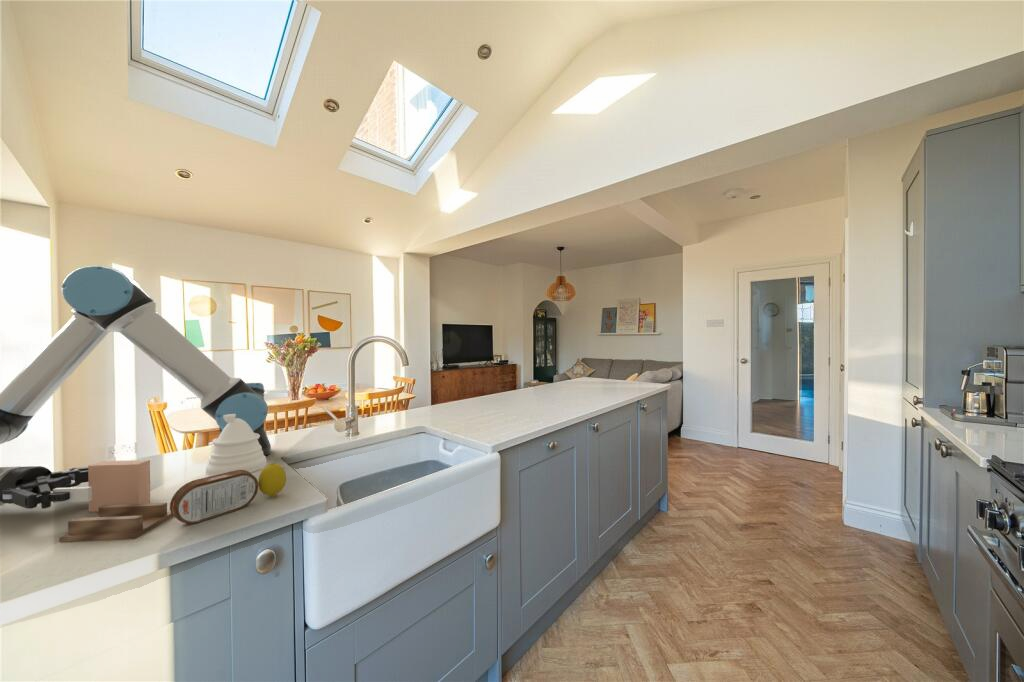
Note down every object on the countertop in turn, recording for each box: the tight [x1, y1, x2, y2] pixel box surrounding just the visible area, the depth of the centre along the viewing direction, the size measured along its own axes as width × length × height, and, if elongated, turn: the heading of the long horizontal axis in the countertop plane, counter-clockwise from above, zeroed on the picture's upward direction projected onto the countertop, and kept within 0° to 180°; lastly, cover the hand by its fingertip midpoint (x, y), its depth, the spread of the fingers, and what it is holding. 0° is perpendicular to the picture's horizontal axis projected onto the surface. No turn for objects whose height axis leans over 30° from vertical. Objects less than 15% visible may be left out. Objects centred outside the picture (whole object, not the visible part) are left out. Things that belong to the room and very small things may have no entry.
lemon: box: [258, 462, 287, 498], centre depth 90 cm, size 6×6×8 cm
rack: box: [58, 502, 174, 543], centre depth 75 cm, size 13×9×3 cm
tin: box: [169, 470, 259, 524], centre depth 81 cm, size 15×3×8 cm, turn 146°
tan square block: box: [87, 459, 151, 513], centre depth 85 cm, size 10×3×10 cm, turn 95°
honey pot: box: [205, 414, 267, 480], centre depth 99 cm, size 13×13×18 cm
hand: (121, 481), depth 84 cm, fingers open, 13 cm apart
